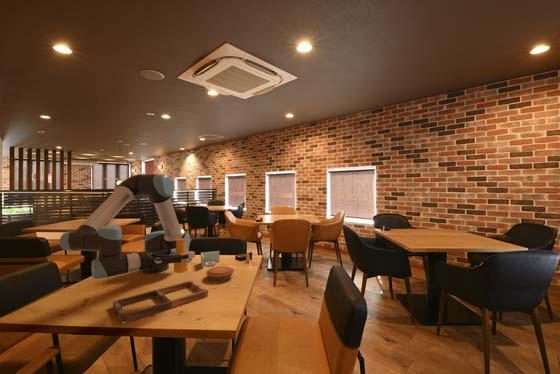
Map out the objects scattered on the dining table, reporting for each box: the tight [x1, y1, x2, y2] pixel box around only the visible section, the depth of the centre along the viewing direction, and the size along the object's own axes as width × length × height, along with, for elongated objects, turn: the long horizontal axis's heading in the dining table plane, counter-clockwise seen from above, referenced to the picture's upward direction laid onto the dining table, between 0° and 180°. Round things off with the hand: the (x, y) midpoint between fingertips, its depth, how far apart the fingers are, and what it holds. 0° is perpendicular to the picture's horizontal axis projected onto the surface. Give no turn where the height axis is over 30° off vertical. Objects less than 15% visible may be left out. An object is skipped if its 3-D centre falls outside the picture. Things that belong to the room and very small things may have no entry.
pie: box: [205, 265, 235, 282], centre depth 140 cm, size 16×16×5 cm
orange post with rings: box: [170, 238, 193, 274], centre depth 117 cm, size 12×10×15 cm
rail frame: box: [112, 279, 209, 323], centre depth 111 cm, size 18×34×2 cm, turn 134°
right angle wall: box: [200, 250, 220, 269], centre depth 163 cm, size 12×12×8 cm
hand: (189, 252), depth 119 cm, fingers closed on orange post with rings, 11 cm apart
